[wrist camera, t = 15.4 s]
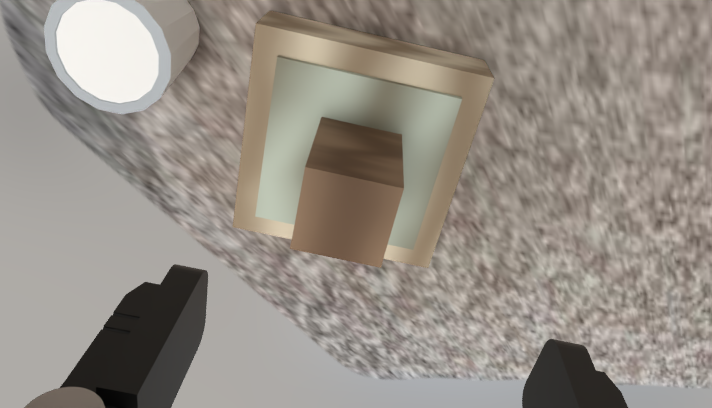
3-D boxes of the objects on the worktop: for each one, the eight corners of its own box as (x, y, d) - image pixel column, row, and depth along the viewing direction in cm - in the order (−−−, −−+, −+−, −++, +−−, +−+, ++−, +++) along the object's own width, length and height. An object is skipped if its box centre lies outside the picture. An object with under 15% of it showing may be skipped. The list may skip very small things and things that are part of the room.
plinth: (484, 60, 34) (495, 80, 31) (425, 237, 41) (428, 271, 38) (269, 10, 34) (254, 24, 30) (246, 198, 41) (231, 230, 37)
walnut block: (401, 134, 33) (404, 188, 27) (382, 203, 35) (380, 267, 29) (321, 116, 32) (305, 166, 26) (308, 187, 35) (290, 248, 29)
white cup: (173, -50, 32) (123, -38, 26) (228, 56, 35) (194, 89, 29) (82, -5, 34) (14, 16, 28) (142, 93, 37) (93, 131, 31)
